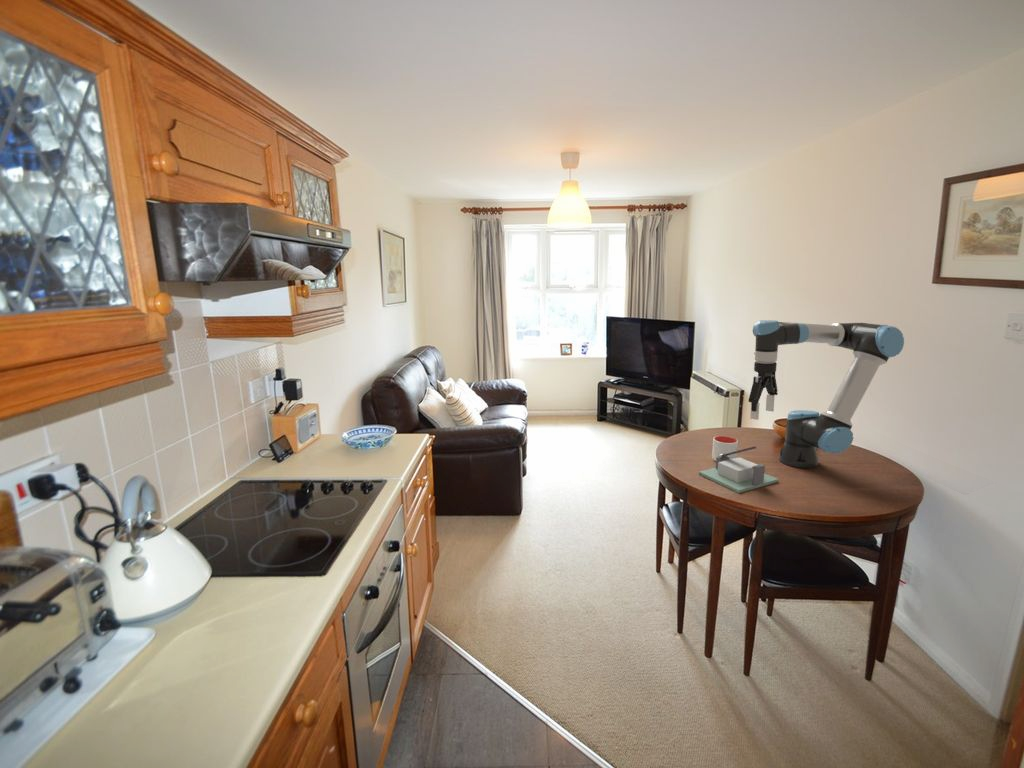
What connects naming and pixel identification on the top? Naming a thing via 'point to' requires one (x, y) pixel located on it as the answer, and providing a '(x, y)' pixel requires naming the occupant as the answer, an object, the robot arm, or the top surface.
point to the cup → (724, 446)
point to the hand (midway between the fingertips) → (762, 414)
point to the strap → (735, 452)
